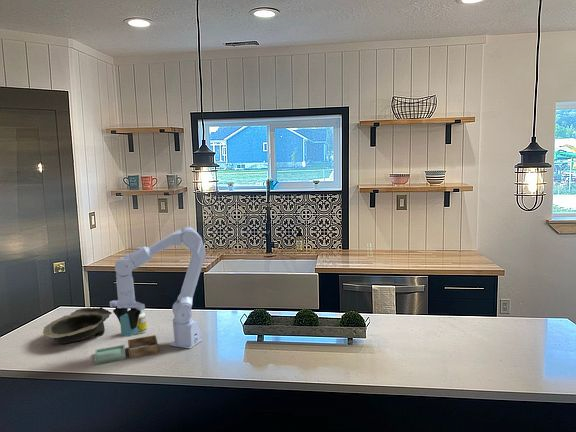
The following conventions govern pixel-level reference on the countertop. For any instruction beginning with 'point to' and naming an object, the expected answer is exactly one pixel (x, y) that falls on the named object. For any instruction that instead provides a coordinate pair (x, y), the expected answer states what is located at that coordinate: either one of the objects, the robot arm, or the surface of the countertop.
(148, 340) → the sleeve
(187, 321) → the robot arm
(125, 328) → the block
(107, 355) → the tray
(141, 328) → the supplement bottle
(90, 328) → the stone bowl
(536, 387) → the countertop surface
